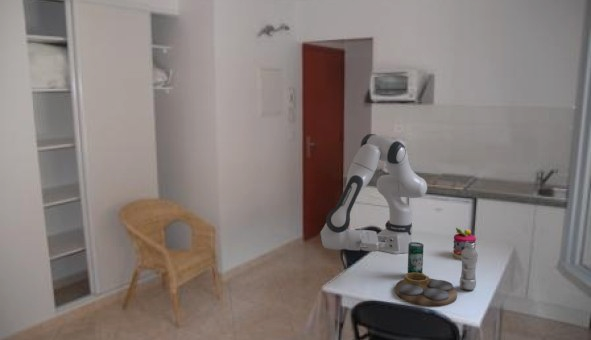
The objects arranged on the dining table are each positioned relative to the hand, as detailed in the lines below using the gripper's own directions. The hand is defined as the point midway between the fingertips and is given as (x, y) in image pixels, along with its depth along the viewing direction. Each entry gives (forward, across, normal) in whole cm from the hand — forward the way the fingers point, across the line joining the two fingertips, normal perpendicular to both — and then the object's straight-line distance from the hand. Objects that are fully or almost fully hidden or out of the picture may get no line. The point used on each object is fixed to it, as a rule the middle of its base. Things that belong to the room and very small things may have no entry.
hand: (388, 241), depth 208 cm
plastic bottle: (+32, -10, +16) cm, 38 cm away
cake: (+40, +29, +15) cm, 51 cm away
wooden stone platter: (+14, -17, +16) cm, 28 cm away
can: (+12, 0, +16) cm, 20 cm away
